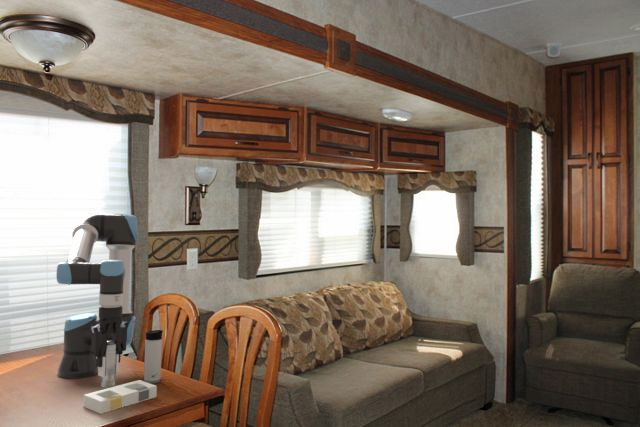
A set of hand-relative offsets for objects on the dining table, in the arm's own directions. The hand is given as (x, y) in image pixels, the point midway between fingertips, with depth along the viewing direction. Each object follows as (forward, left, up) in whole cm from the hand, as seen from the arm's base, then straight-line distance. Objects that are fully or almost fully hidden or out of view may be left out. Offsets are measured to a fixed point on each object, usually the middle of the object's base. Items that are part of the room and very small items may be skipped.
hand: (108, 374), depth 186 cm
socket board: (0, +6, -11) cm, 12 cm away
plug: (0, 0, -4) cm, 4 cm away
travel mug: (-10, +27, -11) cm, 31 cm away
